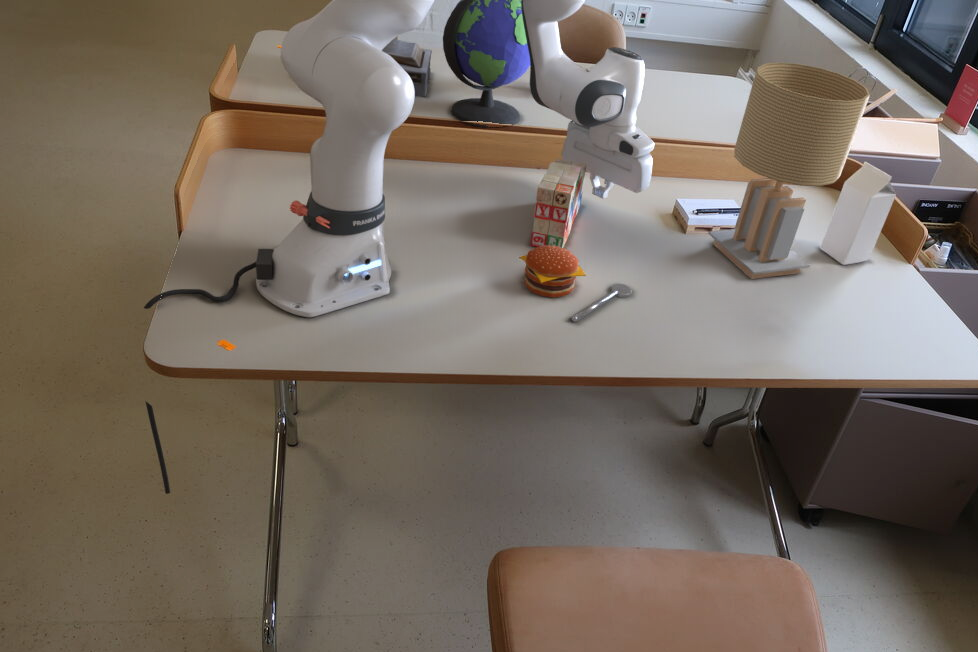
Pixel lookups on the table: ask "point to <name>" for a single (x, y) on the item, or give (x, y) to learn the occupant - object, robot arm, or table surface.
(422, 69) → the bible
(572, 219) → the stack of blocks
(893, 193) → the milk carton
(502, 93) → the table surface
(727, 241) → the desk lamp
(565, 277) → the hamburger
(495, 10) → the globe
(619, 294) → the metal handle tool
